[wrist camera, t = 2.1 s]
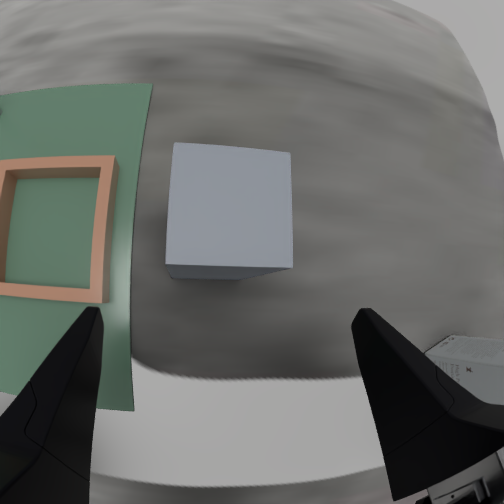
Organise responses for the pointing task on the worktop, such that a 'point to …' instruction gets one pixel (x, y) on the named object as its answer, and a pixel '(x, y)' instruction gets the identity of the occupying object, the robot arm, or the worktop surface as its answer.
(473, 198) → the worktop surface
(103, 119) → the green base plate
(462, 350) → the skincare box
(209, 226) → the grey block
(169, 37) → the worktop surface
